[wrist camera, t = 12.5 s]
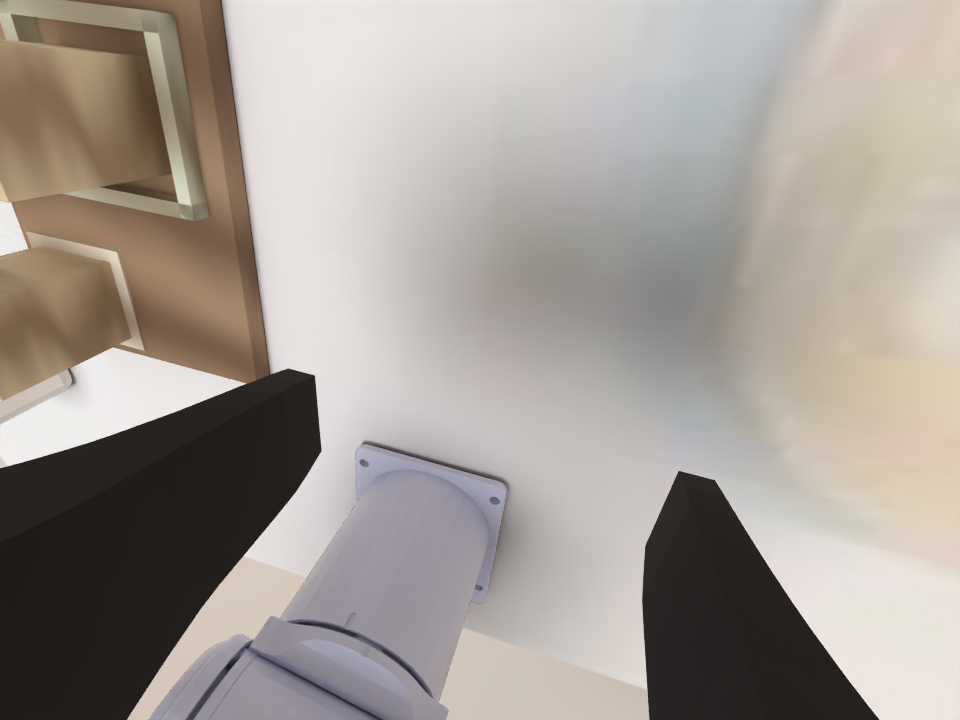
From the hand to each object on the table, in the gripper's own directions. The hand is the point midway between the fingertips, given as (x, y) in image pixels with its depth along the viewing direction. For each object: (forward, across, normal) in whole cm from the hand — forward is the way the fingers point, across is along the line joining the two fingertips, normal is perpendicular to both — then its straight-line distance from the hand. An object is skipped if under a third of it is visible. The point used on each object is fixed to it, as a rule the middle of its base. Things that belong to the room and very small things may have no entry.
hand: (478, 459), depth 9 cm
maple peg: (+9, +18, -4) cm, 20 cm away
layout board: (+10, +19, 0) cm, 22 cm away
